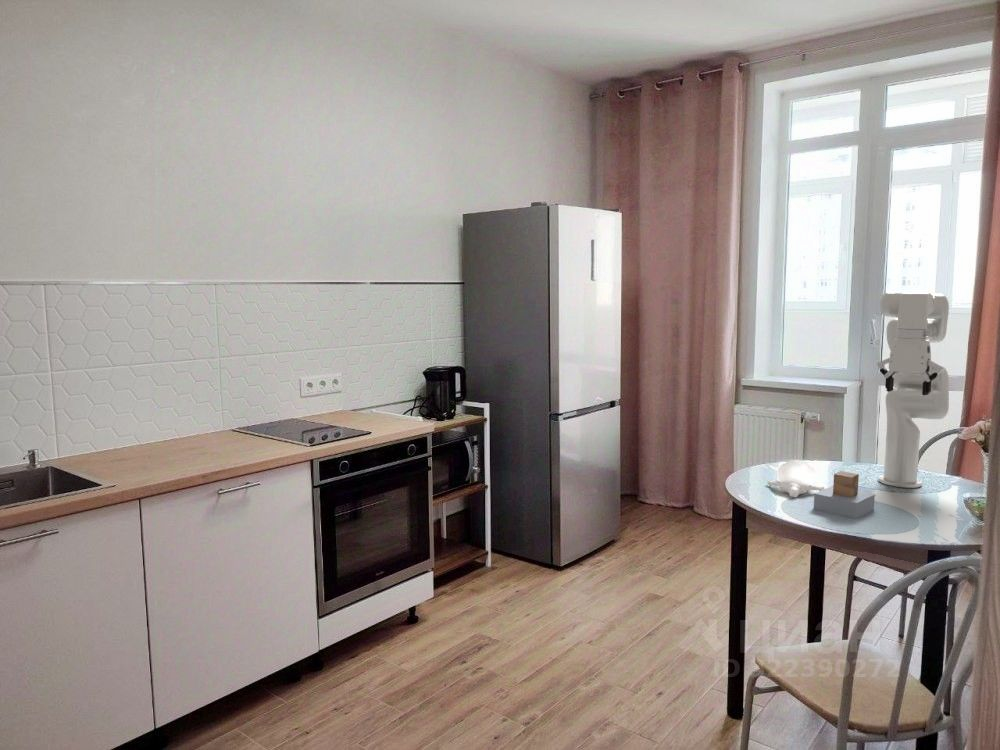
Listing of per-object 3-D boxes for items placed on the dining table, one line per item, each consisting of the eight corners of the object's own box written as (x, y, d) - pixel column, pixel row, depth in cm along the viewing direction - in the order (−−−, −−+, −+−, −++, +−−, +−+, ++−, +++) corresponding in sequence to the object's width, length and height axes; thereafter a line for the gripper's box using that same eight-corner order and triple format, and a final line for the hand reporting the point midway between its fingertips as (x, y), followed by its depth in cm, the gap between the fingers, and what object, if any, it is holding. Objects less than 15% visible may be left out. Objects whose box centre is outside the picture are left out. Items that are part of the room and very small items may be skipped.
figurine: (770, 475, 240) (763, 496, 218) (771, 451, 239) (764, 469, 216) (824, 481, 233) (823, 503, 210) (826, 456, 231) (824, 476, 209)
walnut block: (839, 490, 206) (841, 470, 205) (857, 494, 202) (858, 474, 202) (832, 494, 203) (834, 473, 202) (850, 497, 199) (852, 477, 198)
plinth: (832, 501, 212) (833, 485, 211) (873, 511, 203) (874, 494, 202) (813, 509, 204) (814, 493, 203) (855, 520, 195) (856, 502, 194)
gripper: (949, 335, 199) (944, 395, 201) (884, 332, 212) (881, 388, 214) (940, 337, 194) (935, 397, 196) (874, 334, 207) (871, 391, 209)
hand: (907, 392), depth 205 cm, fingers open, 9 cm apart
